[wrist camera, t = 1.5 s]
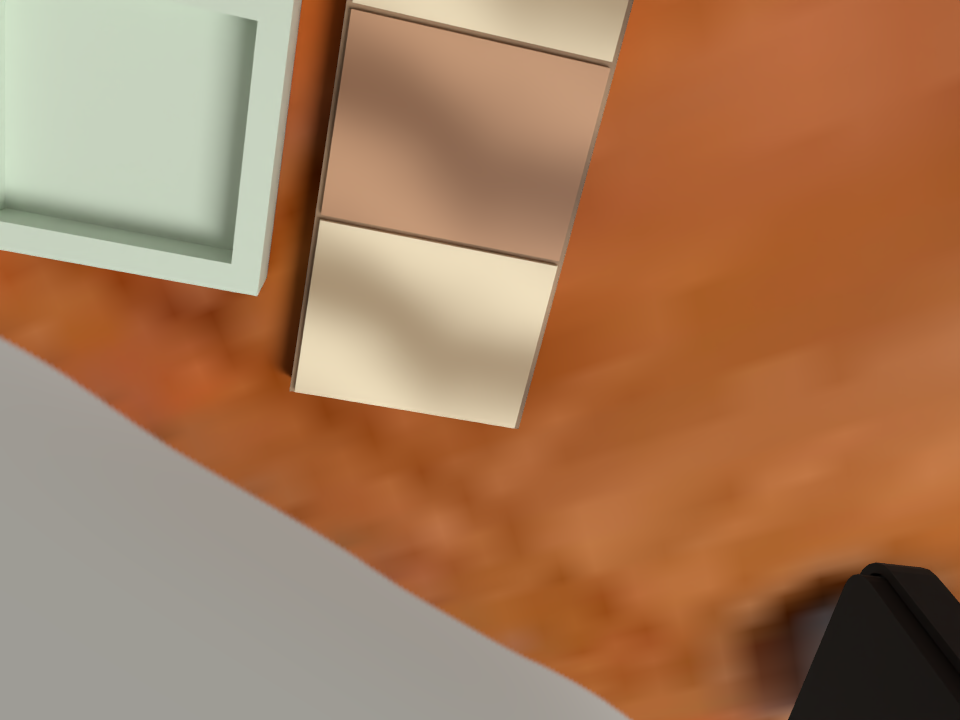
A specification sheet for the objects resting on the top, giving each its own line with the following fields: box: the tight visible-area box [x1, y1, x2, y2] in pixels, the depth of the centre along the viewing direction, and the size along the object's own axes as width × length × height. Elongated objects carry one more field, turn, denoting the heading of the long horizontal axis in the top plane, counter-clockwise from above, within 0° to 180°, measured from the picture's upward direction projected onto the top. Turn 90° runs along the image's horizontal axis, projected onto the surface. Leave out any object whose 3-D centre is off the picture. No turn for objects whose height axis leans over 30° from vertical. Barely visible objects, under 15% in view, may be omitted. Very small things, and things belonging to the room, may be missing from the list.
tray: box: [0, 0, 302, 296], centre depth 29 cm, size 10×10×2 cm
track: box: [290, 0, 634, 429], centre depth 30 cm, size 21×9×1 cm, turn 168°
